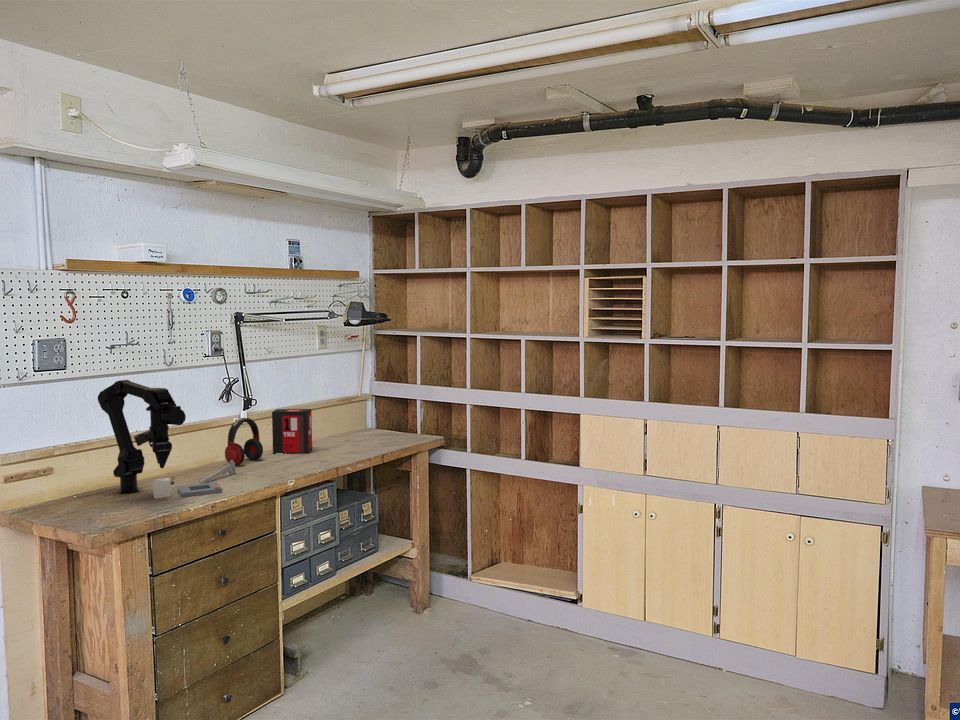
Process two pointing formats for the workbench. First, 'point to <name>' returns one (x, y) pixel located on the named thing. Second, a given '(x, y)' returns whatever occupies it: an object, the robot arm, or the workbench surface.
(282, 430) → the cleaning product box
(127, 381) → the robot arm
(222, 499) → the workbench surface
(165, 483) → the plug
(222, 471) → the caliper
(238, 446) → the headphones
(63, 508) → the workbench surface
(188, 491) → the socket
